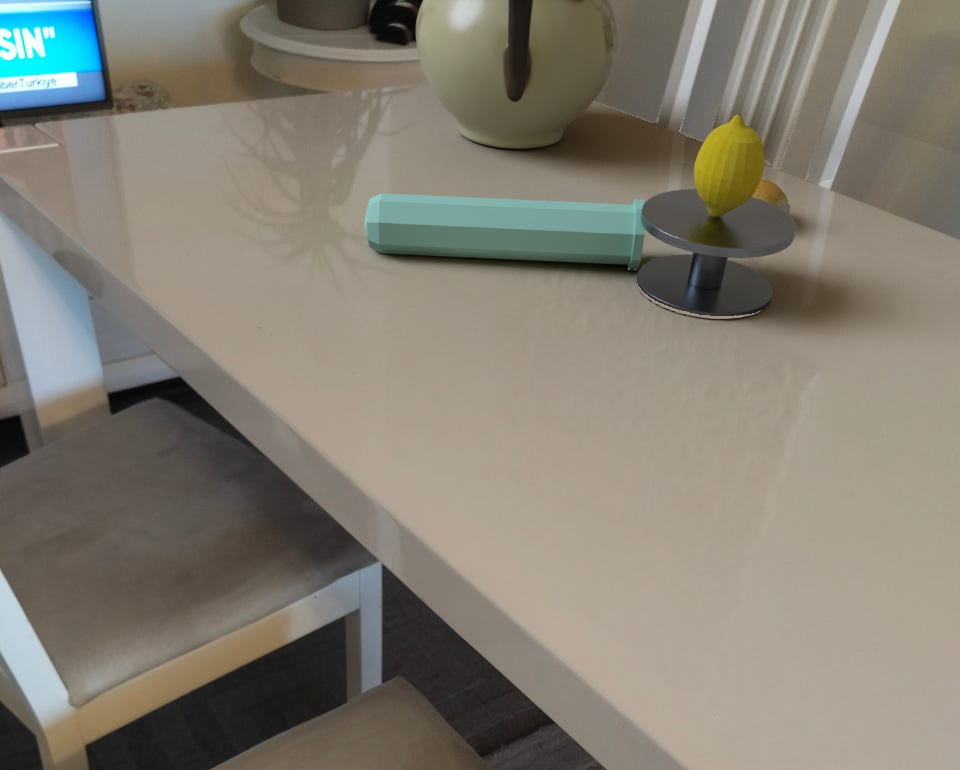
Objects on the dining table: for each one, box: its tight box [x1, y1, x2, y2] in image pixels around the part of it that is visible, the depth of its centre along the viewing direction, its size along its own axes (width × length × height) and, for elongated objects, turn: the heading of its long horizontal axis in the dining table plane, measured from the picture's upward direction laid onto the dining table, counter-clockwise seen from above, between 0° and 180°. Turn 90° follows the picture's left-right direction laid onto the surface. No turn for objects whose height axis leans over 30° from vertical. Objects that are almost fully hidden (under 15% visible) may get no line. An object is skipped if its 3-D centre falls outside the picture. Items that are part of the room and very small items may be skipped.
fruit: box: [693, 113, 765, 217], centre depth 80 cm, size 6×6×8 cm
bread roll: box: [751, 178, 791, 215], centre depth 98 cm, size 8×9×4 cm
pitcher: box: [415, 0, 618, 150], centre depth 106 cm, size 22×24×25 cm
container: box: [363, 192, 646, 270], centre depth 88 cm, size 6×6×25 cm
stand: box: [636, 188, 797, 316], centre depth 85 cm, size 13×13×6 cm
